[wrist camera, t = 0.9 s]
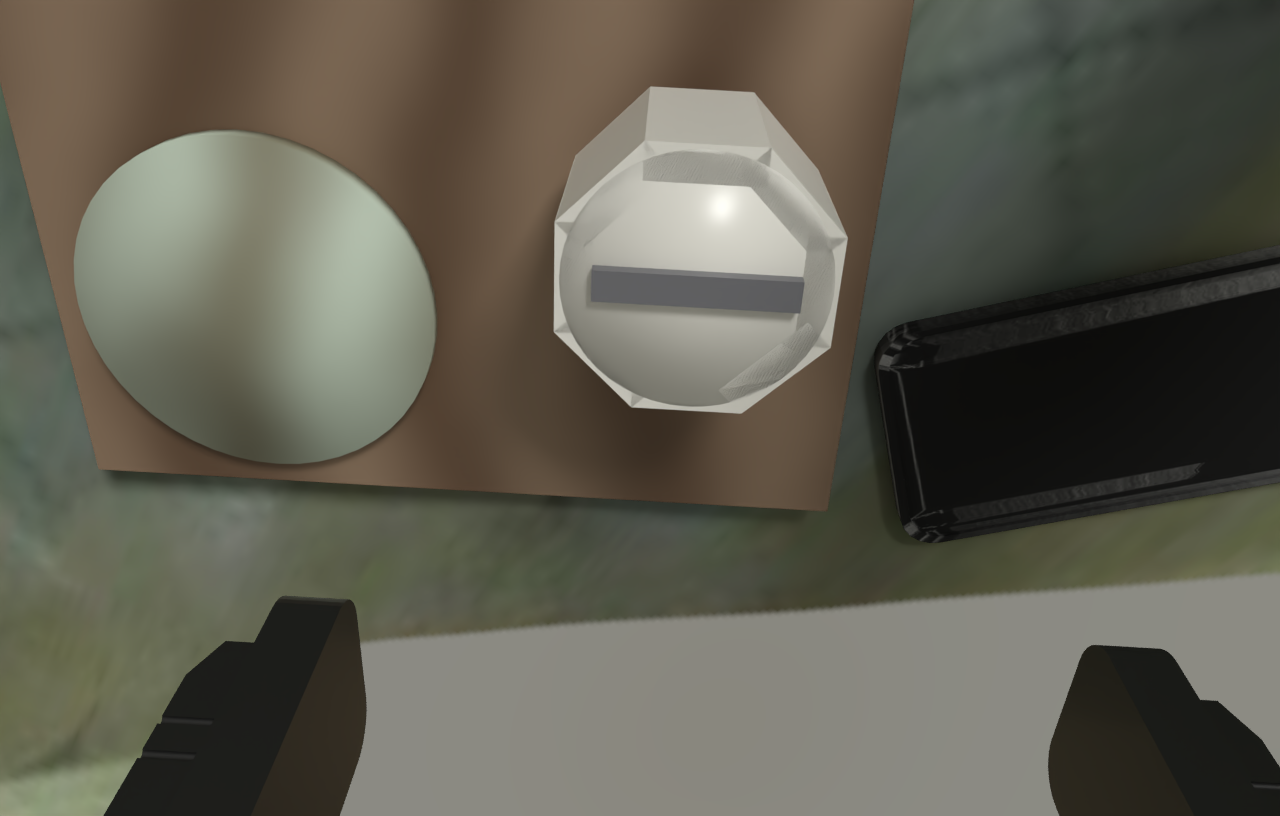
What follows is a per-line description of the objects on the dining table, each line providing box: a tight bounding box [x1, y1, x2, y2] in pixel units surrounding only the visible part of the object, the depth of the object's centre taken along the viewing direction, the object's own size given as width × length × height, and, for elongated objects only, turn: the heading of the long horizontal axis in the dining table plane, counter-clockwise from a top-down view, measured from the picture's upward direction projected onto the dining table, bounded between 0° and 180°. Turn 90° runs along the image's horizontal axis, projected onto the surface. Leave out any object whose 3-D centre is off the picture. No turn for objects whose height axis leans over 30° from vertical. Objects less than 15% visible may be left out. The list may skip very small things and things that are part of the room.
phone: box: [874, 245, 1280, 543], centre depth 31 cm, size 8×1×15 cm
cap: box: [554, 86, 848, 414], centre depth 23 cm, size 6×6×5 cm
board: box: [0, 0, 914, 511], centre depth 26 cm, size 23×16×7 cm
